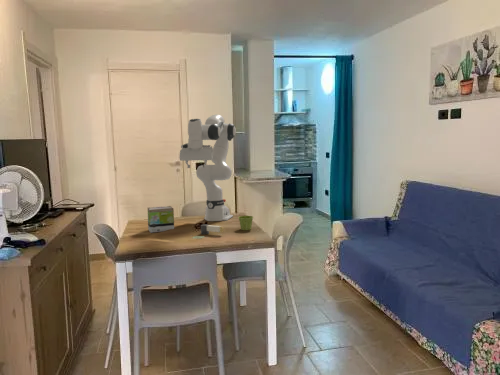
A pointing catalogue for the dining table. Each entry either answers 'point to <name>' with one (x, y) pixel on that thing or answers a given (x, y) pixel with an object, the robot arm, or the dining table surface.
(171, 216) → the tea box
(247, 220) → the plant pot
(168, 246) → the dining table surface
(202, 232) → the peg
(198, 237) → the dial
